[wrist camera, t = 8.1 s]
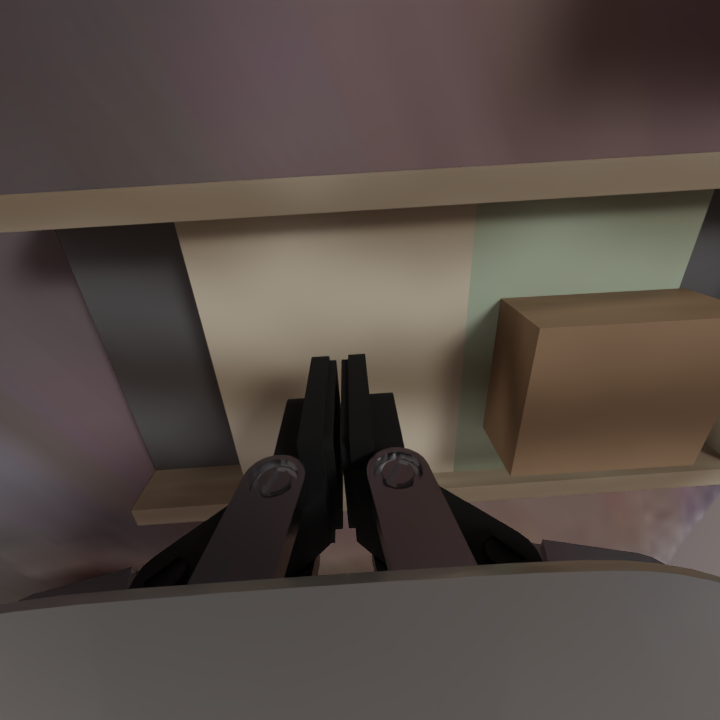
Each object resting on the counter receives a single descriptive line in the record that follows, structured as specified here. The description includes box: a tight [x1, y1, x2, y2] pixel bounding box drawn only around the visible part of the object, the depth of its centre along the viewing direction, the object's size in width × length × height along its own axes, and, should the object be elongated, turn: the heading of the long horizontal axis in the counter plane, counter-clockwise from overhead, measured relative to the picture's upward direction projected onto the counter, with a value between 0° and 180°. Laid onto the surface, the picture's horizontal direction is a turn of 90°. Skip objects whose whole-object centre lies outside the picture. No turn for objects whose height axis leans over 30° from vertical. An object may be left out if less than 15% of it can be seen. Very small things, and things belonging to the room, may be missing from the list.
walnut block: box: [483, 288, 720, 477], centre depth 13 cm, size 6×7×3 cm
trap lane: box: [0, 152, 720, 526], centre depth 15 cm, size 14×29×4 cm, turn 93°
